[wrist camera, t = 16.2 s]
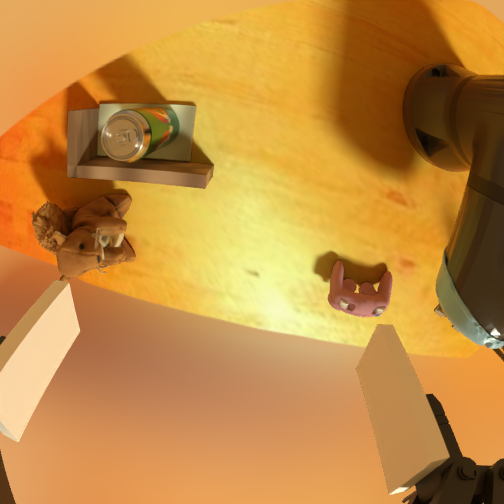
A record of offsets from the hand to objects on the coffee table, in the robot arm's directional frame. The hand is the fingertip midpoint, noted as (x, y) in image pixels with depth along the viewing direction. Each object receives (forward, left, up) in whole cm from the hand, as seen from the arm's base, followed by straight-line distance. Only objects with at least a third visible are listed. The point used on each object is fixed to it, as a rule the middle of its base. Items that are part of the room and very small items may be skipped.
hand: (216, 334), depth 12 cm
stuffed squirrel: (+20, +9, -29) cm, 37 cm away
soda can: (+11, -5, -28) cm, 31 cm away
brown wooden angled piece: (+13, -4, -29) cm, 32 cm away
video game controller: (-19, +13, -29) cm, 37 cm away
